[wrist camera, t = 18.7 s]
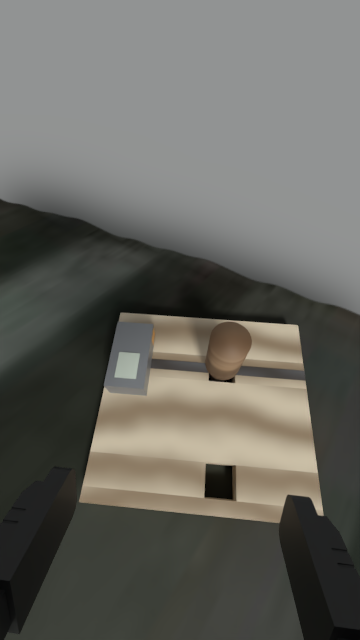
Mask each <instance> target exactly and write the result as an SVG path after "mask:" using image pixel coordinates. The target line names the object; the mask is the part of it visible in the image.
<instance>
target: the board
mask: <svg viewBox="0 0 360 640" xmlns="http://www.w3.org/2000/svg"><path fill="white" fill-rule="evenodd" d="M119 322H131V323H145V324H153V325H154V331H155V341H154V348H153V355H152V361H151V369H150V376H149V383H148V390H147V396H142V395H131V394H119V393H110V392H109V391H108V390H107V389H106V388H105V387H104V391H103V395H102V400H101V404H100V409H99V413H98V418H97V423H96V427H95V432H94V436H93V441H92V445H91V450H90V455H89V459H88V464H87V468H86V473H85V477H84V482H83V487H82V491H81V496H80V500H79V502H83V503H92V504H102V505H112V506H121V507H131V508H140V509H150V510H160V511H169V512H179V513H189V514H198V515H208V516H217V517H227V518H237V519H246V520H256V521H265V522H275V523H280V519H281V516H282V512H283V508H284V504H285V500H286V496H287V495H288V494H289V495H297V496H305V497H310V498H311V500H312V502H313V504H314V507H315V509H316V512H317V514H318V515H320V516H323V508H322V501H321V493H320V486H319V479H318V471H317V464H316V456H315V449H314V441H313V434H312V426H311V419H310V412H309V404H308V397H307V389H306V382H305V381H306V379H305V372H304V367H303V360H302V352H301V345H300V337H299V330H298V325H288V324H274V323H260V322H246V321H232V320H218V319H204V318H190V317H176V316H162V315H148V314H134V313H120V318H119ZM223 322H236V323H239V324H241V325H242V326H244V327H245V328H246V329H247V330H248V332H249V333H250V335H251V339H252V345H251V349H250V351H249V352H248V354H247V356H246V358H245V360H244V362H243V364H242V366H241V367H240V369H239V371H238V373H237V374H236V375H235V376H234V377H233V378H232V383H228V382H215V381H209V372H208V371H207V369H206V366H205V360H206V355H207V350H208V345H209V340H210V335H211V332H212V330H213V329H214V327H216V326H217V325H218V324H220V323H223ZM206 464H216V465H227V466H232V487H233V500H232V499H222V498H212V497H204V493H205V466H206Z"/></svg>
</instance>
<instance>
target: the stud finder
mask: <svg viewBox="0 0 360 640" xmlns="http://www.w3.org/2000/svg"><path fill="white" fill-rule="evenodd" d="M154 341H155V331H154V325H153V324H145V323H131V322H118V323H117V327H116V332H115V336H114V341H113V345H112V350H111V354H110V359H109V364H108V368H107V373H106V377H105V382H104V387H105V388H106V389H107V390H108V391H109V392H110V393H119V394H131V395H142V396H147V390H148V383H149V376H150V369H151V361H152V355H153V348H154Z"/></svg>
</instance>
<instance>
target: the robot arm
mask: <svg viewBox="0 0 360 640" xmlns="http://www.w3.org/2000/svg"><path fill="white" fill-rule="evenodd" d="M76 502H77V493H76V475H75V470H74V469H70V468H62V467H53V468H52V469H51V471H50V472H49V474H48V476H47V477H46V479H45V480H44V482H42V481H35V482H34V483H33V484H31V485H30V486H29V487H28V488H27V489H25V490H24V491H23V492H22V493H21V495H20V496H19V498H18V499H17V500H16V502H15V503H14V505H13V506H12V509H11V510H10V511H9V512H8V514H7V515H6V516H5V518H4V519H3V522H2V523H1V524H0V640H4V638H5V636H6V634H7V632H9V633H15V634H20V632H21V630H22V627H23V625H24V623H25V621H26V618H27V616H28V614H29V612H30V610H31V607H32V605H33V603H34V601H35V599H36V596H37V594H38V592H39V590H40V588H41V585H42V583H43V581H44V579H45V577H46V574H47V572H48V570H49V568H50V565H51V563H52V561H53V559H54V557H55V554H56V552H57V550H58V548H59V546H60V543H61V541H62V539H63V537H64V535H65V532H66V530H67V528H68V526H69V524H70V521H71V519H72V517H73V514H74V511H75V507H76ZM279 537H280V543H281V548H282V552H283V556H284V560H285V564H286V568H287V572H288V576H289V580H290V584H291V588H292V592H293V596H294V600H295V604H296V608H297V613H298V617H299V621H300V625H301V629H302V633H303V637H304V640H360V577H359V575H358V573H357V570H356V569H355V568H354V564H353V562H352V559H351V557H350V555H349V554H348V552H347V548H346V546H345V544H344V542H343V539H342V537H341V535H340V533H339V531H338V530H337V529H336V527H335V526H334V525H333V524H332V523H331V521H330V520H329V519H328V518H327V516H320V515H318V514H317V512H316V509H315V507H314V504H313V502H312V500H311V498H310V497H305V496H297V495H289V494H288V495H287V496H286V500H285V504H284V508H283V512H282V516H281V519H280V524H279Z"/></svg>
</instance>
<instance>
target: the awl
mask: <svg viewBox="0 0 360 640" xmlns="http://www.w3.org/2000/svg"><path fill="white" fill-rule="evenodd" d="M251 345H252V339H251V335H250V333H249V332H248V330H247V329H246V328H245V327H244V326H242V325H241V324H239V323H236V322H223V323H220V324H218V325H217V326H216V327H214V329H213V330H212V332H211V335H210V340H209V345H208V350H207V355H206V360H205V366H206V369H207V371H208V372H209V374H210V378H211V380H212V381H215V382H224V381H225V380H229V379H231V378H233V377H234V376H235V375H236V374H237V373H238V371H239V369H240V367H241V366H242V364H243V362H244V360H245V358H246V356H247V354H248V352H249V351H250V349H251Z"/></svg>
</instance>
